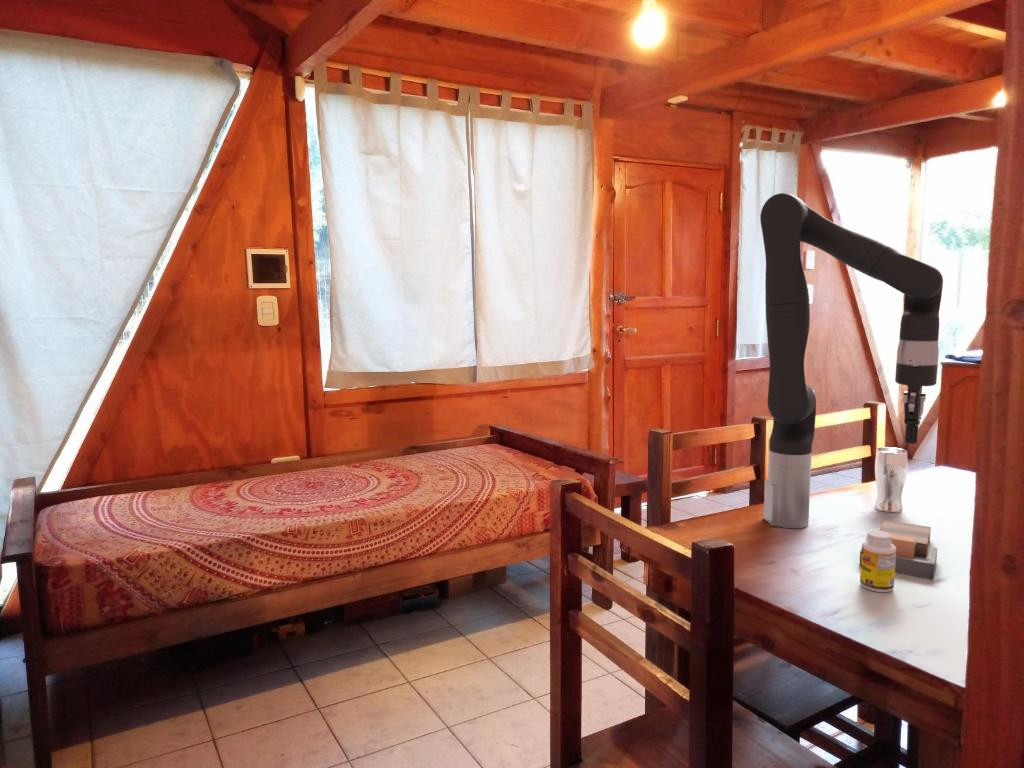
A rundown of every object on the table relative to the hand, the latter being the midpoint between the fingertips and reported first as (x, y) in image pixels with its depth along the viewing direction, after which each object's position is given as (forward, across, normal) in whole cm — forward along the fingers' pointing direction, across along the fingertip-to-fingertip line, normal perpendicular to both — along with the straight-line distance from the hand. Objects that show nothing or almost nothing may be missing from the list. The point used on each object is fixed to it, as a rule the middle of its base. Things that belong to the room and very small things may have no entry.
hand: (911, 442), depth 149 cm
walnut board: (+22, +3, 0) cm, 22 cm away
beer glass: (+22, -22, -5) cm, 32 cm away
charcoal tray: (+22, +15, 0) cm, 26 cm away
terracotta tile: (+19, +14, 0) cm, 24 cm away
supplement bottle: (+22, +29, -2) cm, 37 cm away
